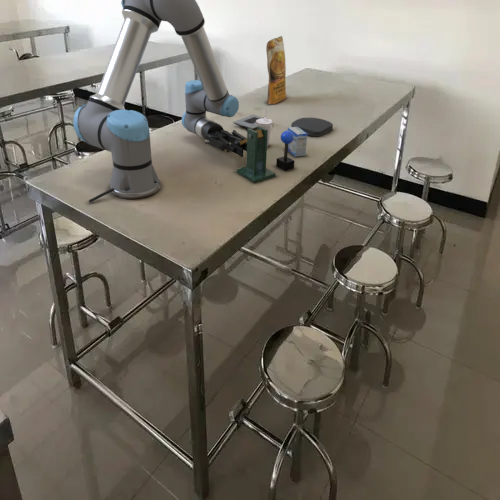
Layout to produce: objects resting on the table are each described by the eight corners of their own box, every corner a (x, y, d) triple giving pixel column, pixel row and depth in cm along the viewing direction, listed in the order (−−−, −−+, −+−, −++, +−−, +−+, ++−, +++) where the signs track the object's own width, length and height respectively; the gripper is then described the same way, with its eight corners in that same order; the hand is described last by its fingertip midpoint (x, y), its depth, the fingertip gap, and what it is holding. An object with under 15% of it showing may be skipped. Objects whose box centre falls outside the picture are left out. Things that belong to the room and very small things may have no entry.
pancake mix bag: (259, 103, 230) (261, 40, 214) (278, 94, 243) (282, 34, 228) (271, 106, 227) (274, 42, 211) (290, 96, 240) (294, 36, 225)
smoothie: (275, 145, 186) (277, 109, 178) (263, 150, 182) (265, 113, 174) (262, 141, 190) (264, 105, 182) (251, 145, 186) (252, 109, 178)
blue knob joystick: (284, 171, 167) (287, 134, 159) (275, 166, 170) (277, 130, 163) (294, 168, 169) (297, 131, 162) (285, 163, 172) (287, 127, 165)
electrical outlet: (252, 119, 211) (253, 113, 210) (272, 124, 206) (272, 119, 204) (233, 126, 202) (233, 121, 201) (252, 133, 197) (252, 127, 196)
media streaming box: (317, 138, 193) (318, 131, 192) (287, 130, 201) (287, 123, 199) (335, 129, 203) (336, 122, 202) (306, 121, 210) (306, 114, 209)
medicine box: (285, 149, 183) (287, 127, 178) (296, 148, 185) (297, 126, 180) (295, 157, 177) (297, 134, 172) (306, 155, 179) (308, 133, 174)
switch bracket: (236, 172, 165) (237, 127, 156) (257, 166, 170) (259, 122, 161) (254, 183, 159) (255, 136, 150) (275, 176, 163) (278, 131, 154)
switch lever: (233, 152, 167) (230, 141, 167) (242, 149, 169) (239, 139, 169) (256, 140, 154) (253, 129, 154) (265, 137, 156) (262, 126, 156)
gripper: (228, 136, 186) (266, 156, 170) (191, 145, 177) (227, 167, 162) (228, 117, 181) (267, 136, 166) (190, 125, 173) (227, 146, 158)
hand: (247, 151), depth 164 cm, fingers closed on switch lever, 3 cm apart
